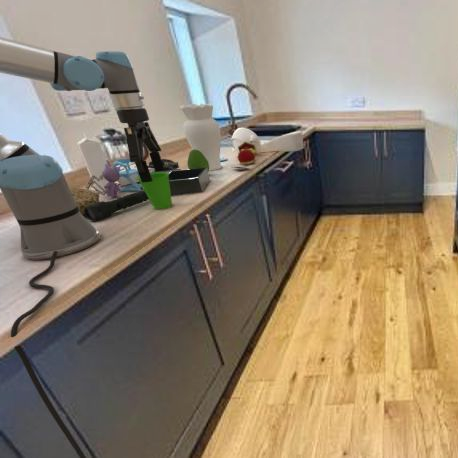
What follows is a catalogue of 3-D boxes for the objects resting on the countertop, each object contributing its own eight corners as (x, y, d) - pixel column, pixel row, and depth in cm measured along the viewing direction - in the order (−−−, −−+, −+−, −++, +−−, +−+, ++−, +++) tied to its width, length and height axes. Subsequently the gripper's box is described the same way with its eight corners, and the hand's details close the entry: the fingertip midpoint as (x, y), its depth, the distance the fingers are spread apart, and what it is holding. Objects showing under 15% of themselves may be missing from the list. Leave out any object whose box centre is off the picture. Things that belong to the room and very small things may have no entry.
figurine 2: (241, 160, 184) (239, 170, 171) (235, 141, 178) (233, 150, 166) (258, 157, 186) (257, 167, 173) (253, 139, 180) (252, 148, 168)
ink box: (114, 177, 142) (115, 163, 149) (121, 187, 145) (122, 173, 153) (137, 170, 144) (137, 157, 152) (144, 180, 148) (144, 166, 155)
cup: (164, 212, 115) (153, 179, 110) (141, 211, 117) (129, 179, 112) (184, 203, 123) (175, 172, 118) (162, 202, 125) (152, 171, 120)
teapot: (251, 154, 204) (237, 166, 196) (231, 131, 196) (216, 143, 189) (274, 143, 188) (259, 156, 180) (253, 118, 180) (237, 130, 173)
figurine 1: (98, 195, 127) (96, 163, 128) (113, 198, 134) (111, 168, 135) (113, 193, 127) (111, 161, 128) (128, 196, 134) (125, 166, 135)
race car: (157, 165, 151) (156, 155, 151) (143, 167, 152) (141, 156, 152) (182, 169, 166) (181, 160, 166) (169, 171, 167) (168, 161, 167)
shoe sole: (239, 153, 200) (235, 134, 196) (249, 148, 212) (246, 131, 207) (301, 151, 197) (298, 133, 193) (308, 147, 209) (305, 129, 205)
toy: (232, 157, 186) (217, 161, 177) (232, 159, 186) (218, 163, 178) (212, 156, 190) (197, 160, 182) (212, 157, 191) (197, 162, 182)
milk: (99, 193, 137) (75, 136, 128) (95, 190, 141) (72, 134, 132) (117, 189, 141) (95, 133, 132) (114, 186, 145) (92, 132, 136)
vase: (227, 170, 164) (211, 104, 152) (192, 174, 160) (173, 106, 148) (230, 163, 177) (216, 102, 165) (198, 166, 173) (181, 104, 161)
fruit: (198, 174, 159) (191, 147, 154) (215, 174, 158) (208, 147, 153) (187, 179, 152) (179, 151, 147) (204, 179, 151) (196, 151, 146)
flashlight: (86, 221, 110) (80, 206, 108) (148, 199, 128) (143, 186, 126) (97, 222, 109) (91, 207, 107) (158, 200, 127) (153, 187, 124)
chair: (134, 192, 136) (123, 161, 131) (118, 191, 138) (106, 161, 133) (151, 186, 143) (142, 157, 138) (135, 185, 145) (125, 156, 140)
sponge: (68, 209, 124) (40, 216, 106) (66, 187, 123) (37, 190, 105) (114, 209, 130) (95, 216, 112) (113, 188, 128) (93, 191, 111)
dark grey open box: (202, 192, 134) (198, 177, 132) (162, 196, 130) (157, 182, 128) (210, 180, 149) (206, 167, 147) (174, 184, 146) (170, 170, 143)
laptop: (230, 169, 163) (230, 165, 162) (240, 169, 168) (240, 165, 167) (240, 171, 159) (239, 167, 159) (250, 171, 164) (250, 166, 164)
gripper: (129, 111, 97) (155, 185, 106) (157, 104, 118) (176, 166, 127) (97, 113, 95) (126, 188, 104) (131, 105, 116) (153, 168, 125)
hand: (154, 176), depth 115 cm, fingers open, 13 cm apart
